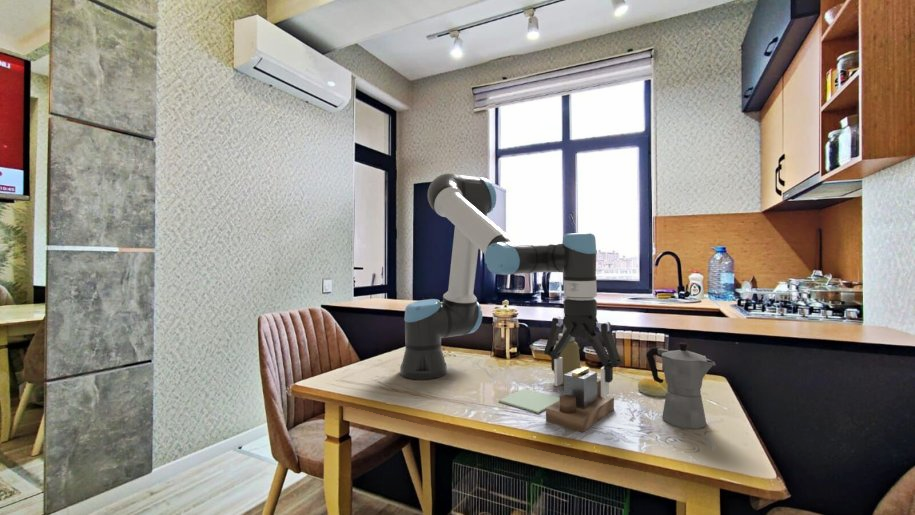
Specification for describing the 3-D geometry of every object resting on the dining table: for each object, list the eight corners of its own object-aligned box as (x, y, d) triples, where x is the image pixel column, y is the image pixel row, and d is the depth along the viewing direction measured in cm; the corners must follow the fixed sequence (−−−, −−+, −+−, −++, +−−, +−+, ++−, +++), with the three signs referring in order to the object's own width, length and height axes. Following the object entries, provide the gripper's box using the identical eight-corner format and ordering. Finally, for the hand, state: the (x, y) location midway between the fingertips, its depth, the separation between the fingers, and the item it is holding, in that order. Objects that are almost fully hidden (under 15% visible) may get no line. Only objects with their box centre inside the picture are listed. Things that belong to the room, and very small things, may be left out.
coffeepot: (724, 425, 91) (724, 344, 90) (704, 436, 85) (704, 351, 85) (657, 404, 103) (656, 333, 103) (636, 413, 98) (635, 338, 98)
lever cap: (564, 404, 97) (563, 371, 96) (578, 396, 102) (577, 364, 102) (584, 409, 93) (583, 375, 93) (597, 400, 98) (597, 368, 98)
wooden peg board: (582, 432, 88) (582, 400, 88) (545, 421, 94) (545, 390, 94) (614, 409, 101) (613, 381, 101) (579, 400, 107) (579, 374, 107)
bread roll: (632, 388, 116) (632, 374, 116) (660, 386, 117) (660, 372, 117) (650, 399, 108) (650, 384, 108) (681, 396, 109) (680, 381, 109)
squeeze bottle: (582, 387, 117) (581, 325, 116) (553, 386, 118) (552, 324, 118) (579, 379, 124) (579, 320, 124) (552, 377, 126) (552, 319, 126)
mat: (498, 401, 107) (498, 399, 107) (524, 389, 116) (524, 388, 116) (538, 413, 99) (538, 411, 99) (563, 400, 107) (563, 398, 107)
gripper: (529, 296, 102) (530, 383, 103) (623, 303, 86) (624, 406, 87) (544, 293, 108) (545, 376, 108) (636, 300, 92) (637, 396, 92)
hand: (580, 389), depth 97 cm, fingers open, 11 cm apart
